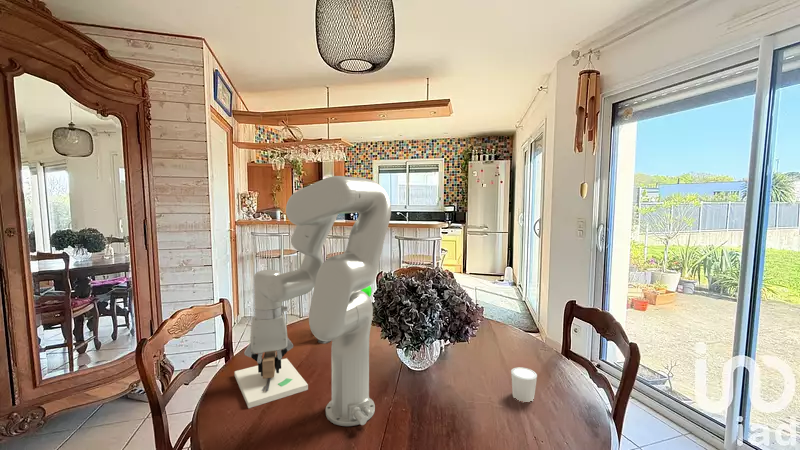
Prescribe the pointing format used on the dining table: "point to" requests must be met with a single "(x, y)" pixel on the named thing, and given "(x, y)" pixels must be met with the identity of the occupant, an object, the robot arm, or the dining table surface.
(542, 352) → the dining table surface
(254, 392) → the board
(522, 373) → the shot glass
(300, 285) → the robot arm
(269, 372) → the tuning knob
